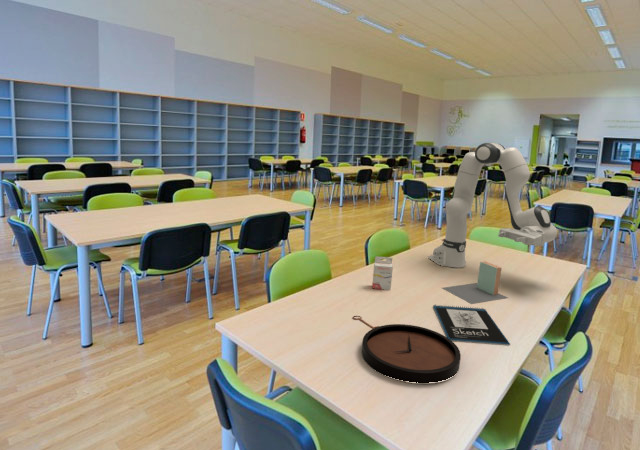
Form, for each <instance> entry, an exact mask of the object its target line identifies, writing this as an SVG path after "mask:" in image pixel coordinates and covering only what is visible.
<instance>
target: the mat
mask: <svg viewBox="0 0 640 450" xmlns="http://www.w3.org/2000/svg"><path fill="white" fill-rule="evenodd" d="M477 283H478V282H475V283H466V284H461V285H460V284H459V285H451V286H445V287H441V290H444V291H446V293H450V294H452V296H454V297H455V296H456V297H458V298H459V299H460V300H462V301H465V302H467V303H469V304H470V305H475V304H480V303H487V302H493V301H494V302H495V301H498V300H499V301H500V300H505V299H509V297H507V296H505V295H503V294H501V293H499V292H498V294H497V295H492V294H489V293H487V292H485V291H483V290H481V289H479V288H477Z"/></svg>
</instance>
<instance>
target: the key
mask: <svg viewBox="0 0 640 450" xmlns="http://www.w3.org/2000/svg"><path fill="white" fill-rule="evenodd" d="M362 318H363V317H362V316H361V315H354V316H352V319H353V320H355V321H360V322H361V323H363V324H364V325H366V326H367V327H369V328H371V330H372V329H374V328H376V327H379V326H380V325H377V326H372V325H371V324H370V323H368V322H366V321H365V320H363V319H362Z"/></svg>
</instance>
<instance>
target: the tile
mask: <svg viewBox="0 0 640 450" xmlns="http://www.w3.org/2000/svg"><path fill="white" fill-rule="evenodd" d="M501 274H502V267H500V266H498V265H495V264H493V263H490V262H488V261H486V260H483V261H480V262H479V267H478V277H477V282H476V283H477V288H479V289H481V290H483V291H485V292H487V293H489V294H492V295H497V294H498V293H499V288H500V281H501Z"/></svg>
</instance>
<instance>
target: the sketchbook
mask: <svg viewBox="0 0 640 450" xmlns="http://www.w3.org/2000/svg"><path fill="white" fill-rule="evenodd" d="M432 308H433V311H434V313H435V316H436V317H437V319H438V322H439V324H440V327H441V329H442V331H443V334H444V336H445V337H447V338H448V339H450V340H451V341H452V342H457V341H459V342H461V343H470V342H471V343H472V344H483V345H485V344H486V345H496V346H497V345H498V346H509V345H510V346H511V343H510V342H509V340H508V339H507V338H506V336H505V334H504V333H503V332H502V331H501V329H500V328H499V326H498V325H497V324H496V322H495V321H494V320H493V317H491V314H489V313H488V311H487V310H486V308H484V307H472V306H470V307H469V306H459V305H458V306H457V305H437V304H434V305H432ZM459 342H458V343H459ZM471 343H470V344H471Z"/></svg>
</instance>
